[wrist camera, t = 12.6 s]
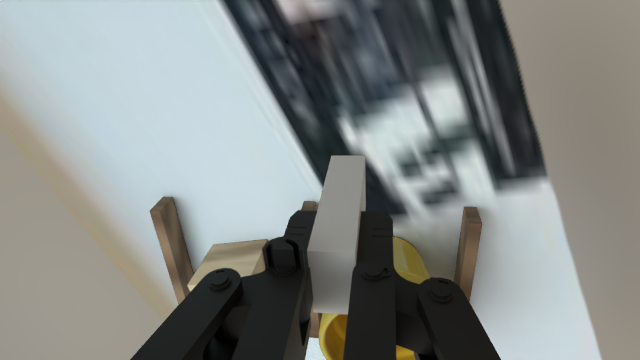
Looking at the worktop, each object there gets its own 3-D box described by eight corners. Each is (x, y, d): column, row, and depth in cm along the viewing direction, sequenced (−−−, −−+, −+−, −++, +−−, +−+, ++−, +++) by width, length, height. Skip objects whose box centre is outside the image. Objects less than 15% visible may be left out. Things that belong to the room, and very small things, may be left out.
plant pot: (427, 311, 40) (437, 404, 32) (327, 291, 41) (311, 376, 33) (456, 230, 35) (477, 314, 27) (341, 209, 36) (326, 284, 28)
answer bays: (163, 196, 39) (147, 213, 36) (476, 207, 34) (483, 226, 31) (195, 308, 46) (183, 329, 43) (457, 330, 41) (462, 354, 38)
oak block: (213, 244, 41) (187, 285, 35) (267, 238, 39) (248, 280, 34) (232, 288, 43) (210, 332, 38) (283, 284, 42) (268, 330, 37)
